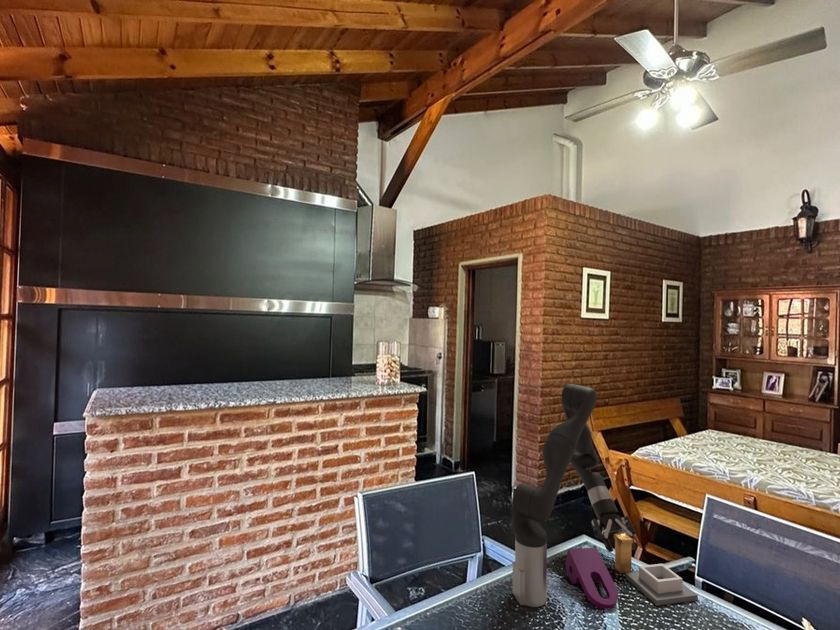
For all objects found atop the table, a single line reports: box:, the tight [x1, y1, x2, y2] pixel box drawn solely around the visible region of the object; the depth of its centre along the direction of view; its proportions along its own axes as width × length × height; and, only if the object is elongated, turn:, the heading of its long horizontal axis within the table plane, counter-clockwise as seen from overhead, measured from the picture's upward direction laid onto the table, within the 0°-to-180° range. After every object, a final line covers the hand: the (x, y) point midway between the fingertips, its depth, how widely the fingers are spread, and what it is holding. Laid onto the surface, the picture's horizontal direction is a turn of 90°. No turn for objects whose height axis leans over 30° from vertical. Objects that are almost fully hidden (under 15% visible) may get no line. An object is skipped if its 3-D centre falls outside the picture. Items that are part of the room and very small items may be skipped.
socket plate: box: [625, 563, 699, 606], centre depth 135 cm, size 14×14×5 cm
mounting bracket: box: [565, 547, 619, 610], centre depth 135 cm, size 9×8×18 cm
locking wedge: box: [613, 533, 634, 574], centre depth 145 cm, size 4×4×11 cm
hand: (622, 550), depth 146 cm, fingers open, 8 cm apart
